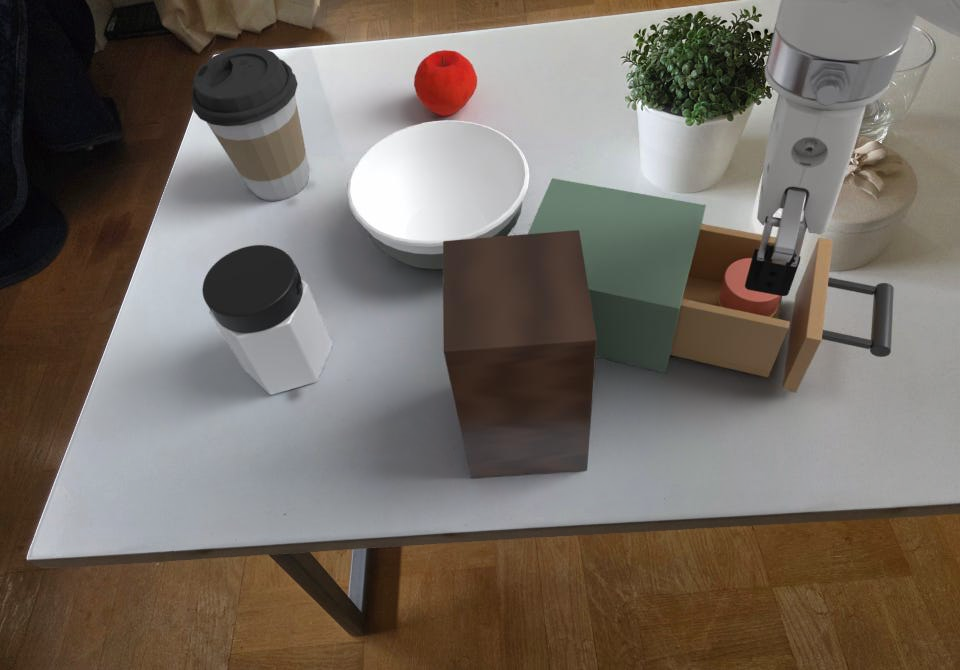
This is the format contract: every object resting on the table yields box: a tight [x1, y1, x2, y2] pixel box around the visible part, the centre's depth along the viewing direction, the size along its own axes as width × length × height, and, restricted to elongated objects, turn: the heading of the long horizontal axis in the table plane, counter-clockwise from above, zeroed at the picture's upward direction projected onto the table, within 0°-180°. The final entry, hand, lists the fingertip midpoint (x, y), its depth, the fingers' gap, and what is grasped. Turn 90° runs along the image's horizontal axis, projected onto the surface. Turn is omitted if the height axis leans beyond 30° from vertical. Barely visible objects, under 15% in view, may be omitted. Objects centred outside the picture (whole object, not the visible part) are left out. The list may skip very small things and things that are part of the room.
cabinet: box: [527, 177, 707, 374], centre depth 69 cm, size 15×13×10 cm
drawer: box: [670, 223, 895, 393], centre depth 65 cm, size 19×11×8 cm, turn 70°
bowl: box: [346, 119, 530, 270], centre depth 77 cm, size 19×19×8 cm
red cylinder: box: [716, 258, 781, 318], centre depth 65 cm, size 5×5×6 cm
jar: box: [201, 244, 334, 396], centre depth 67 cm, size 9×8×12 cm
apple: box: [413, 49, 478, 117], centre depth 91 cm, size 8×8×7 cm
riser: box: [442, 230, 597, 479], centre depth 58 cm, size 10×10×19 cm
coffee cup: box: [190, 46, 310, 202], centre depth 82 cm, size 11×11×15 cm
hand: (773, 246), depth 59 cm, fingers open, 9 cm apart
